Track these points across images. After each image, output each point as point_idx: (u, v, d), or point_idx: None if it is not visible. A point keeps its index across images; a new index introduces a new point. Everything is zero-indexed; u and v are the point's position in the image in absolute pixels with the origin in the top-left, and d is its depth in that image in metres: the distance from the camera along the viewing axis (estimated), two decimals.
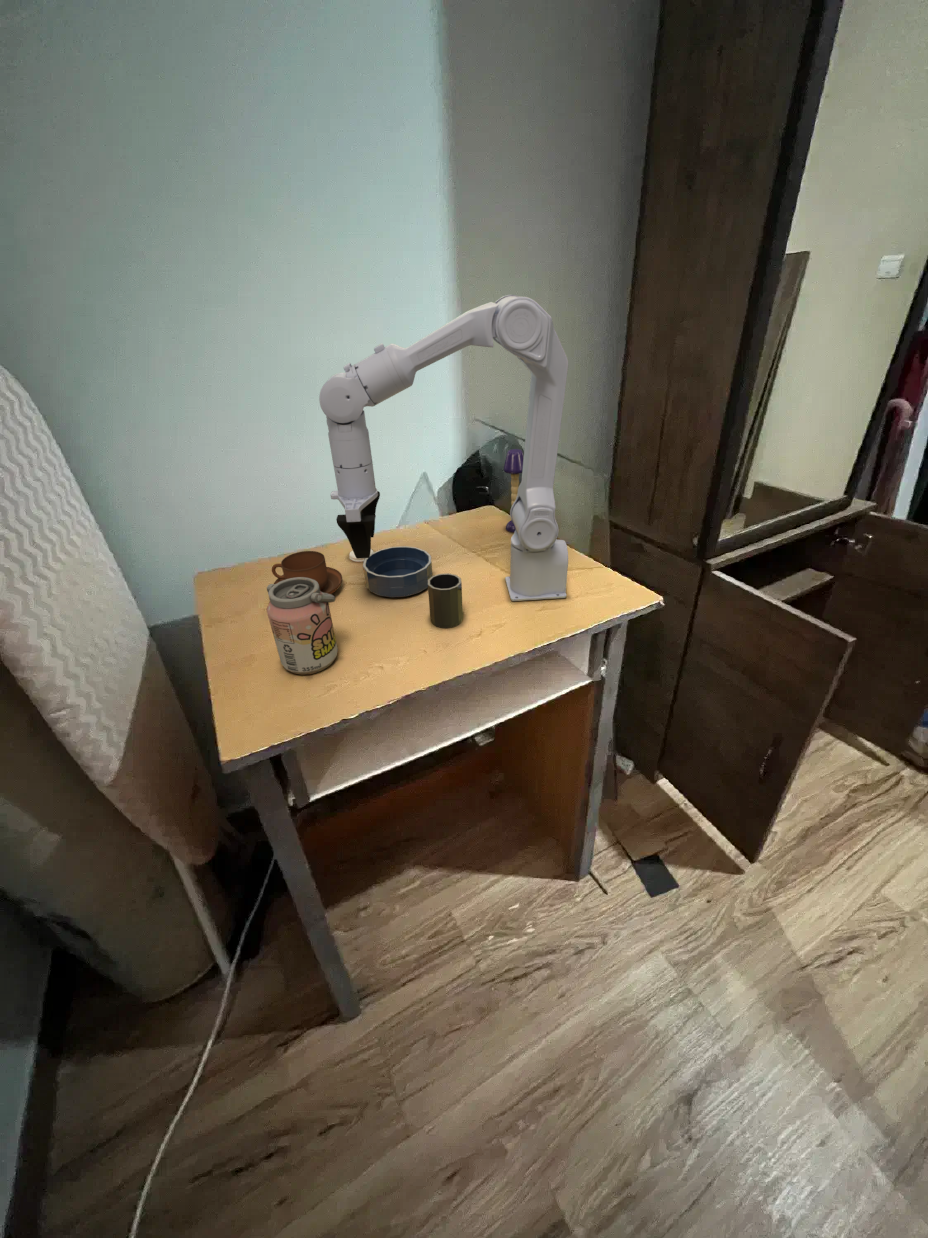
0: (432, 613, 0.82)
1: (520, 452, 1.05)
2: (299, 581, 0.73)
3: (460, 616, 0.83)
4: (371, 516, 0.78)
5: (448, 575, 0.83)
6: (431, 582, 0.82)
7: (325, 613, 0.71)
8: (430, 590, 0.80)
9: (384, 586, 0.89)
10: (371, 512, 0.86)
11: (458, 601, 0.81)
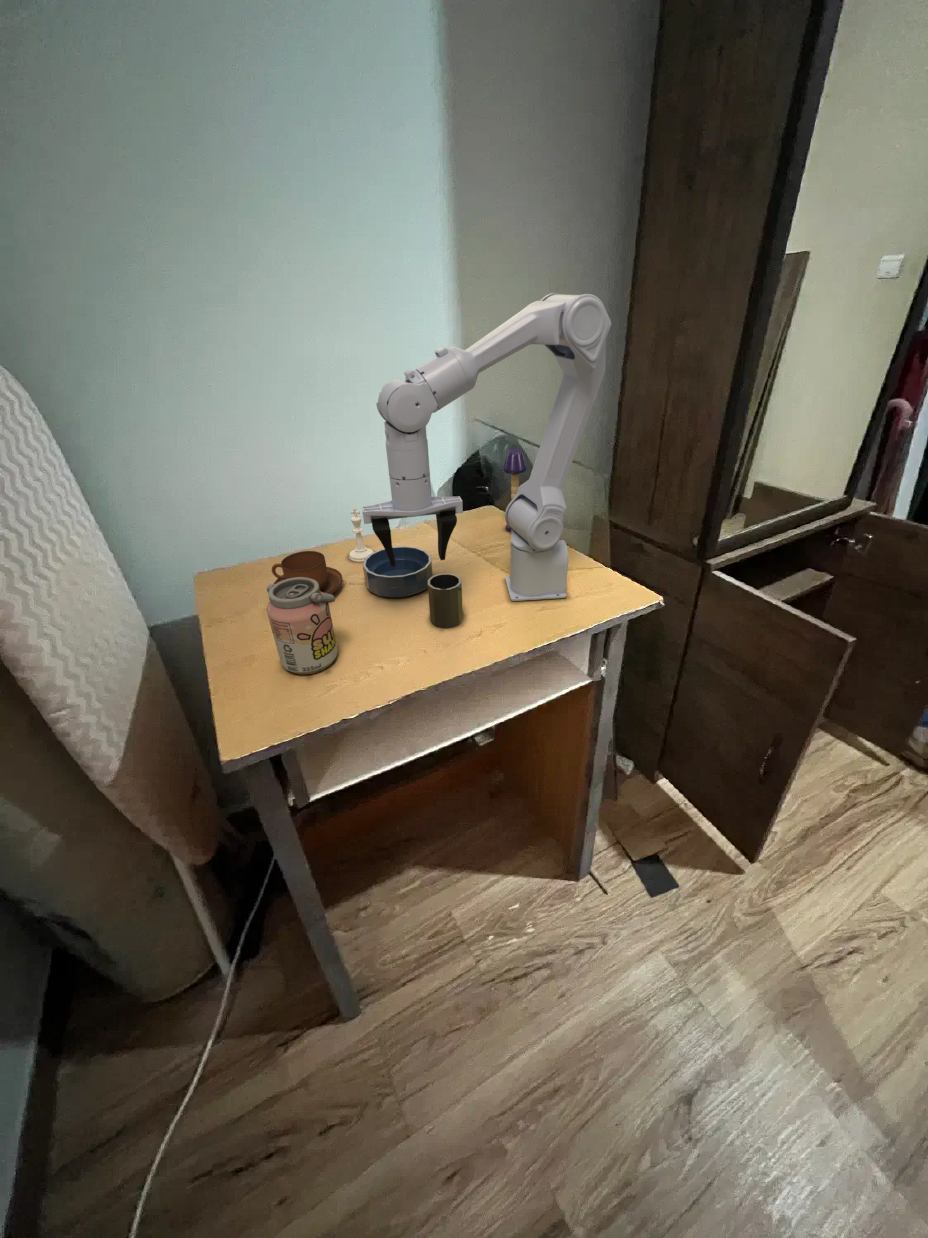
0: (432, 613, 0.82)
1: (520, 452, 1.05)
2: (299, 581, 0.73)
3: (460, 616, 0.83)
4: (384, 528, 0.75)
5: (448, 575, 0.83)
6: (431, 582, 0.82)
7: (325, 613, 0.71)
8: (430, 590, 0.80)
9: (384, 586, 0.89)
10: (440, 535, 0.79)
11: (458, 601, 0.81)
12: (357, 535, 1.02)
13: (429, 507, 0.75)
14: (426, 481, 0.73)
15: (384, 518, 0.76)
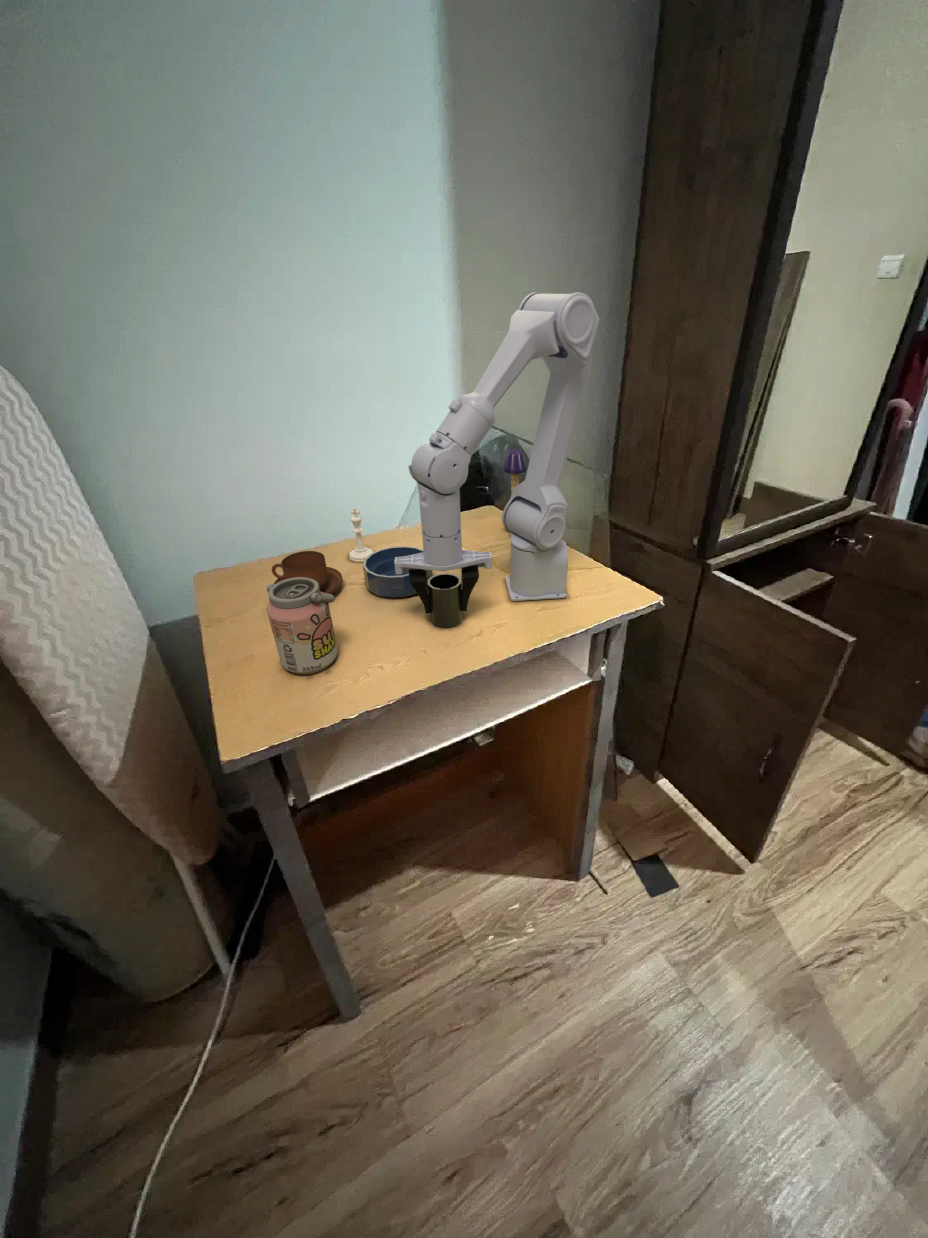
0: (432, 613, 0.82)
1: (520, 452, 1.05)
2: (299, 581, 0.73)
3: (460, 616, 0.83)
4: (420, 579, 0.78)
5: (448, 575, 0.83)
6: (431, 582, 0.82)
7: (325, 613, 0.71)
8: (430, 590, 0.80)
9: (384, 586, 0.89)
10: None
11: (458, 601, 0.81)
12: (357, 535, 1.02)
13: (458, 563, 0.77)
14: (456, 539, 0.75)
15: (421, 569, 0.79)
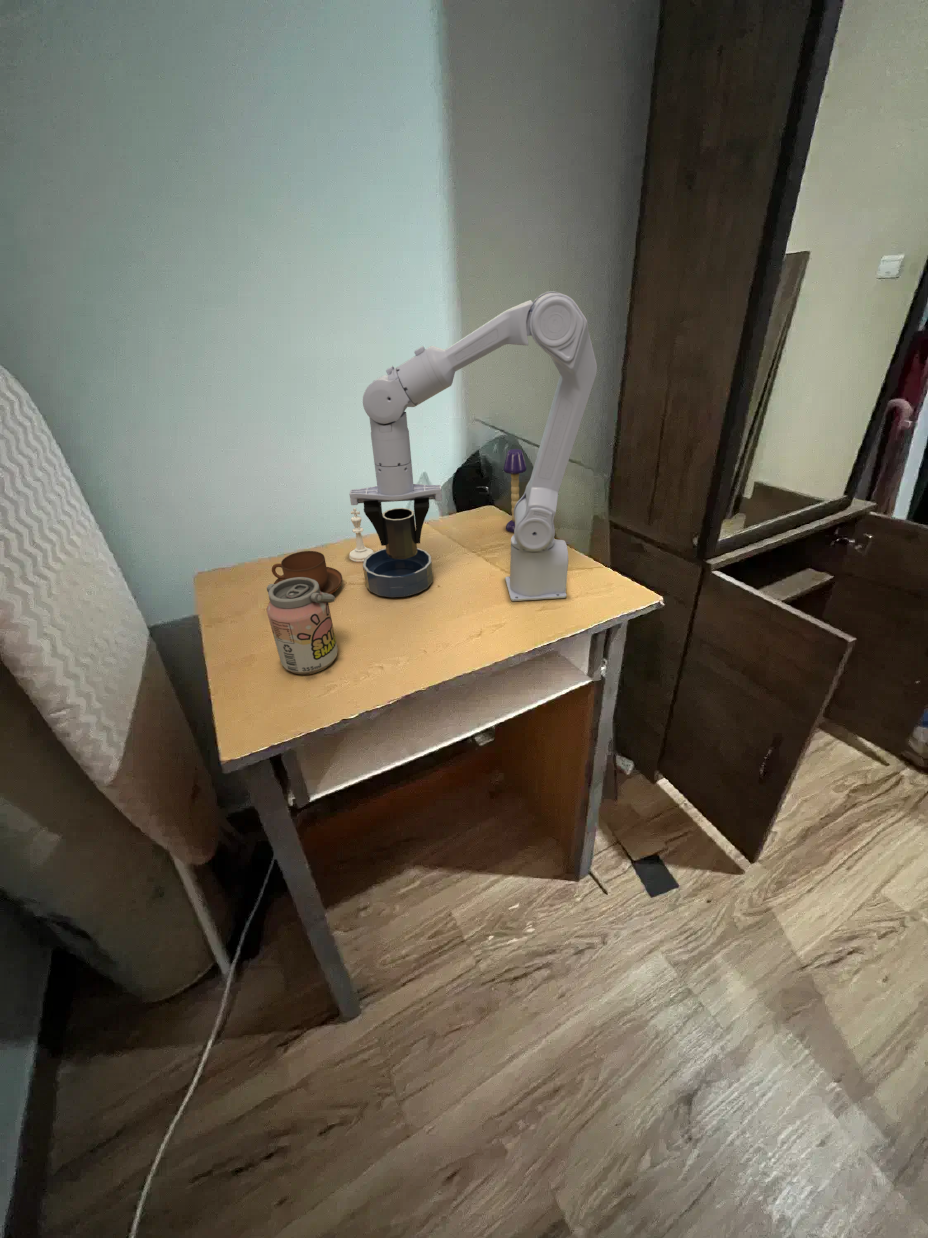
0: (387, 545, 0.87)
1: (520, 452, 1.05)
2: (299, 581, 0.73)
3: (414, 548, 0.88)
4: (374, 509, 0.83)
5: (402, 509, 0.88)
6: (386, 515, 0.87)
7: (325, 613, 0.71)
8: (384, 521, 0.85)
9: (384, 586, 0.89)
10: (415, 520, 0.86)
11: (411, 532, 0.86)
12: (357, 535, 1.02)
13: (409, 493, 0.82)
14: (406, 469, 0.80)
15: (375, 500, 0.84)
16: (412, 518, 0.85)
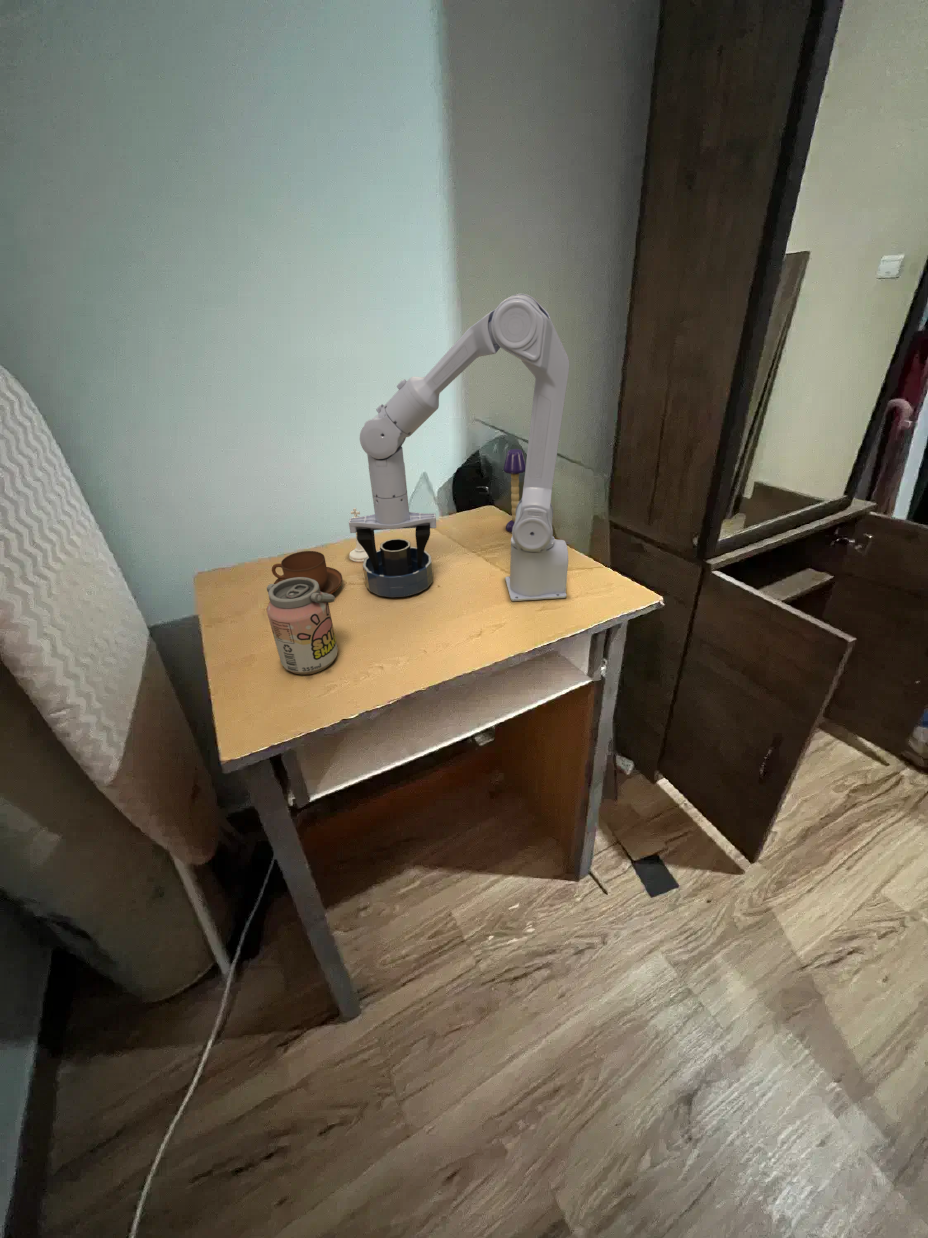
0: (385, 574, 0.93)
1: (520, 452, 1.05)
2: (299, 581, 0.73)
3: None
4: (366, 537, 0.88)
5: (399, 540, 0.93)
6: (384, 546, 0.92)
7: (325, 613, 0.71)
8: (382, 552, 0.90)
9: (384, 586, 0.89)
10: None
11: (407, 562, 0.91)
12: None
13: (405, 522, 0.87)
14: (402, 500, 0.85)
15: (368, 529, 0.89)
16: (408, 549, 0.91)
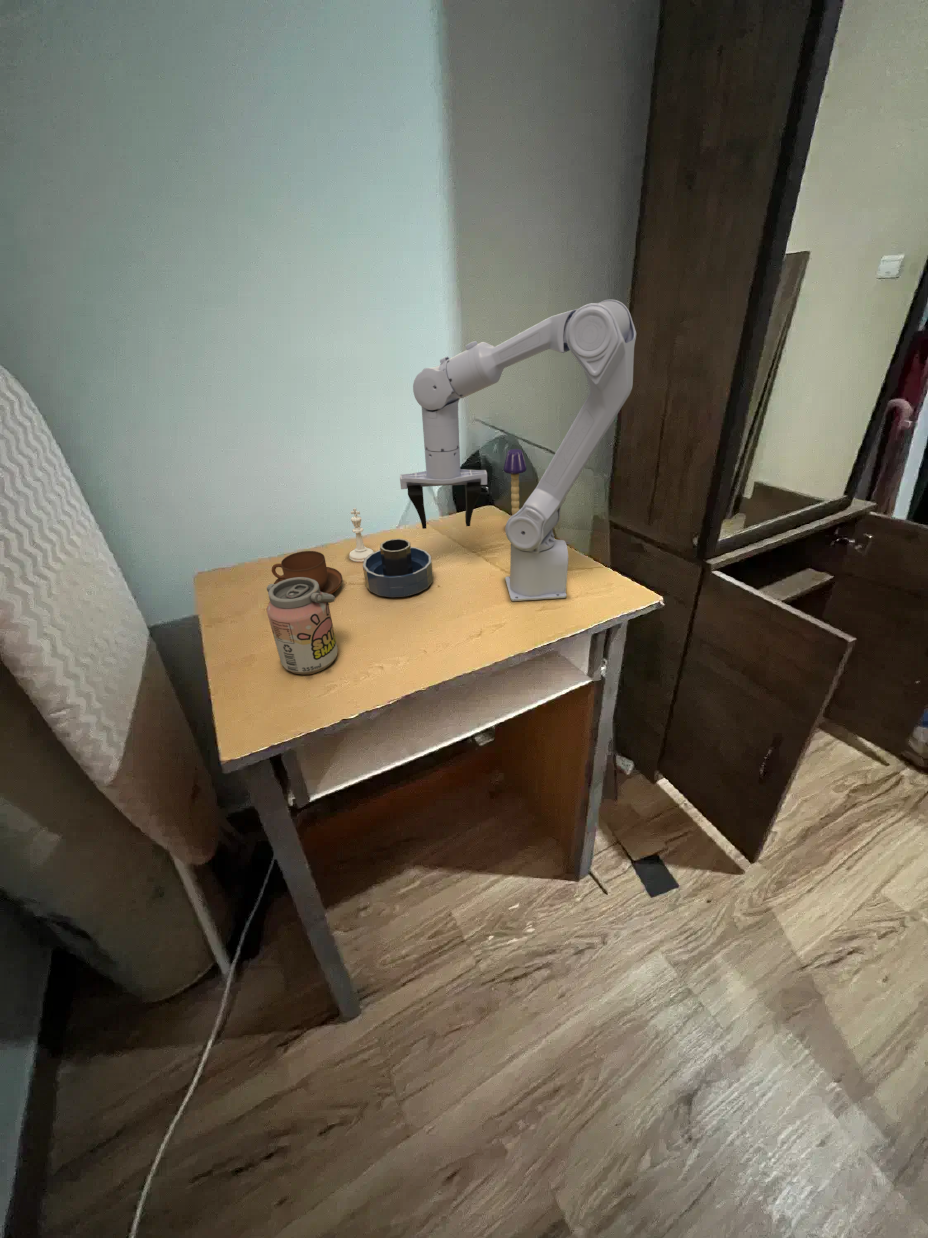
0: (385, 574, 0.93)
1: (520, 452, 1.05)
2: (299, 581, 0.73)
3: None
4: (417, 493, 0.87)
5: (399, 540, 0.93)
6: (384, 546, 0.92)
7: (325, 613, 0.71)
8: (382, 552, 0.90)
9: (384, 586, 0.89)
10: (466, 503, 0.90)
11: (407, 562, 0.91)
12: (357, 535, 1.02)
13: (457, 477, 0.86)
14: (455, 454, 0.85)
15: (418, 485, 0.88)
16: (408, 549, 0.91)
